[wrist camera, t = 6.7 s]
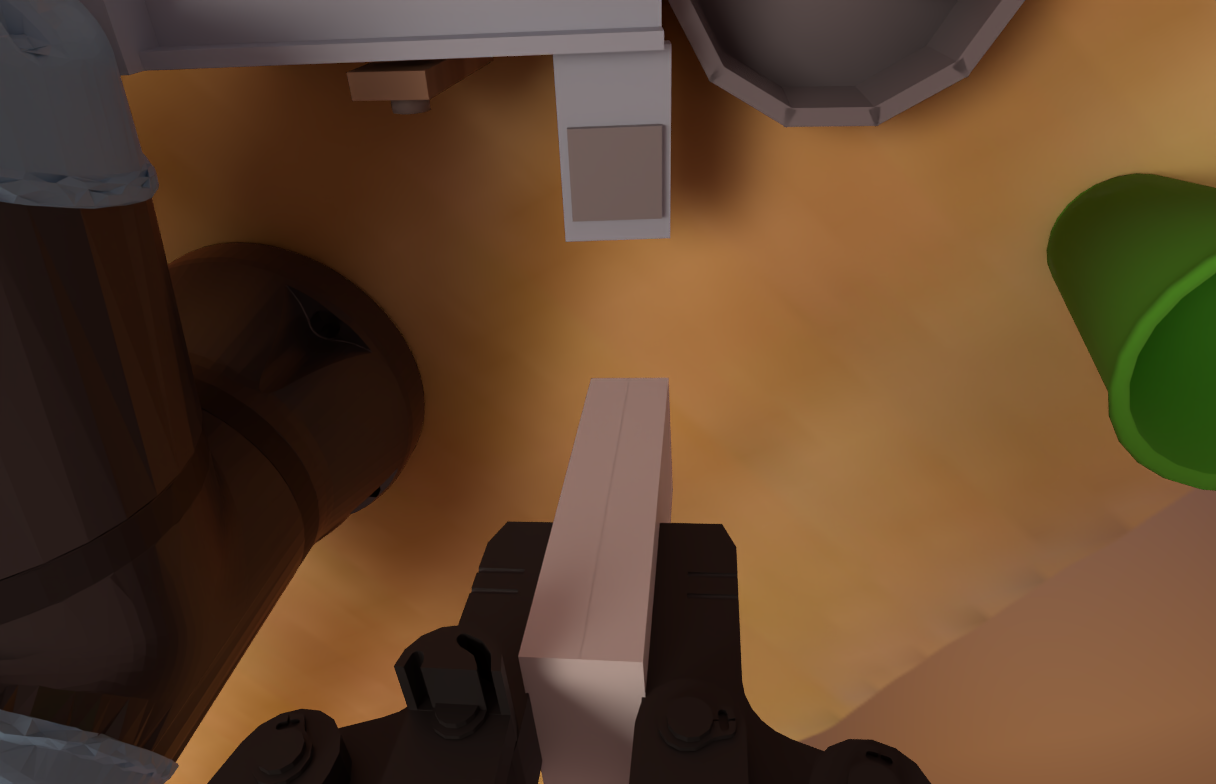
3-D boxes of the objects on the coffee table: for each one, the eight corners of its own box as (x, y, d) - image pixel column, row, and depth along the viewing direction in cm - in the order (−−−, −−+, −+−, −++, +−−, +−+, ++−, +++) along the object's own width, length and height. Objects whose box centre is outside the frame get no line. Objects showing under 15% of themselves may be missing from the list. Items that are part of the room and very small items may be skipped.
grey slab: (215, 243, 27) (174, 276, 24) (88, -148, 21) (15, -160, 18) (668, 228, 27) (674, 259, 24) (670, -175, 21) (678, -191, 18)
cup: (997, 145, 29) (1131, 247, 20) (1265, 97, 27) (1552, 184, 18) (989, 347, 34) (1095, 507, 24) (1219, 317, 32) (1430, 479, 22)
